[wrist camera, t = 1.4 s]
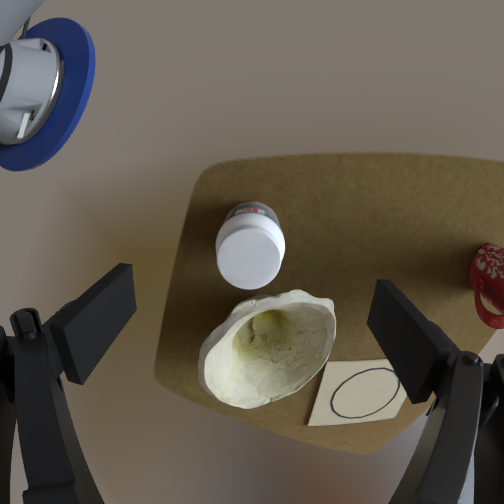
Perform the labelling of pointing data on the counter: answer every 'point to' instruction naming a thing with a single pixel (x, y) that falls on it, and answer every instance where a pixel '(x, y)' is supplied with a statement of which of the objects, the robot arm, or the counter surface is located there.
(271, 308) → the bowl
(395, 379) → the beige flat square sheet
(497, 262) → the mug
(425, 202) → the counter surface
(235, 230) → the pill bottle
